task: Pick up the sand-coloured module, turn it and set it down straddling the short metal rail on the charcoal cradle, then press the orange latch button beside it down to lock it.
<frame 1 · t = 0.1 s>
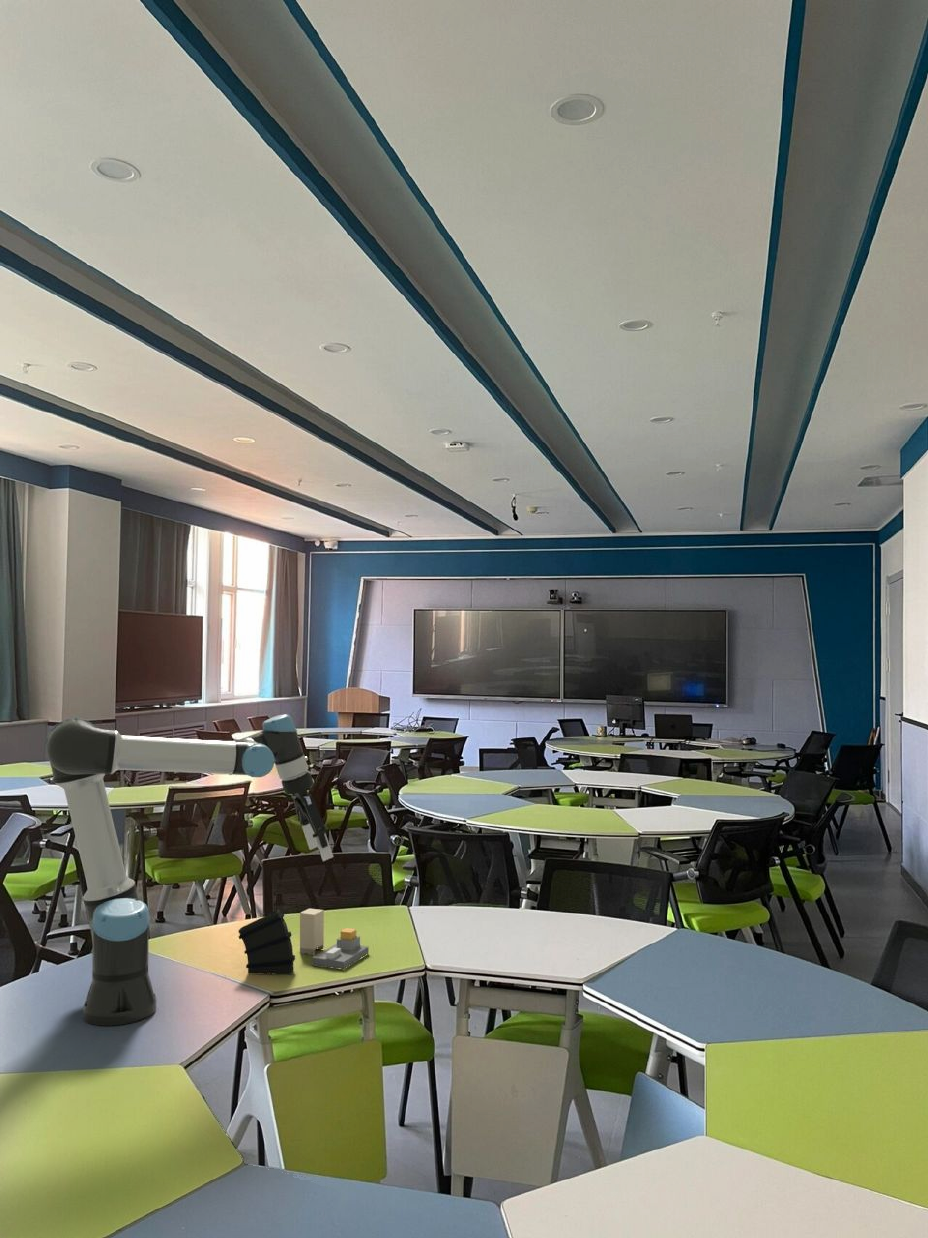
hand: (321, 853, 242), 28 cm above the table, tool tilted 20°, fingers open, 13 cm apart
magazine: (266, 973, 235), on the table
rail cradle: (341, 959, 244), on the table
module: (311, 951, 251), on the table
latch button: (348, 936, 248), point 5 cm above the table, slide at 0.0 cm
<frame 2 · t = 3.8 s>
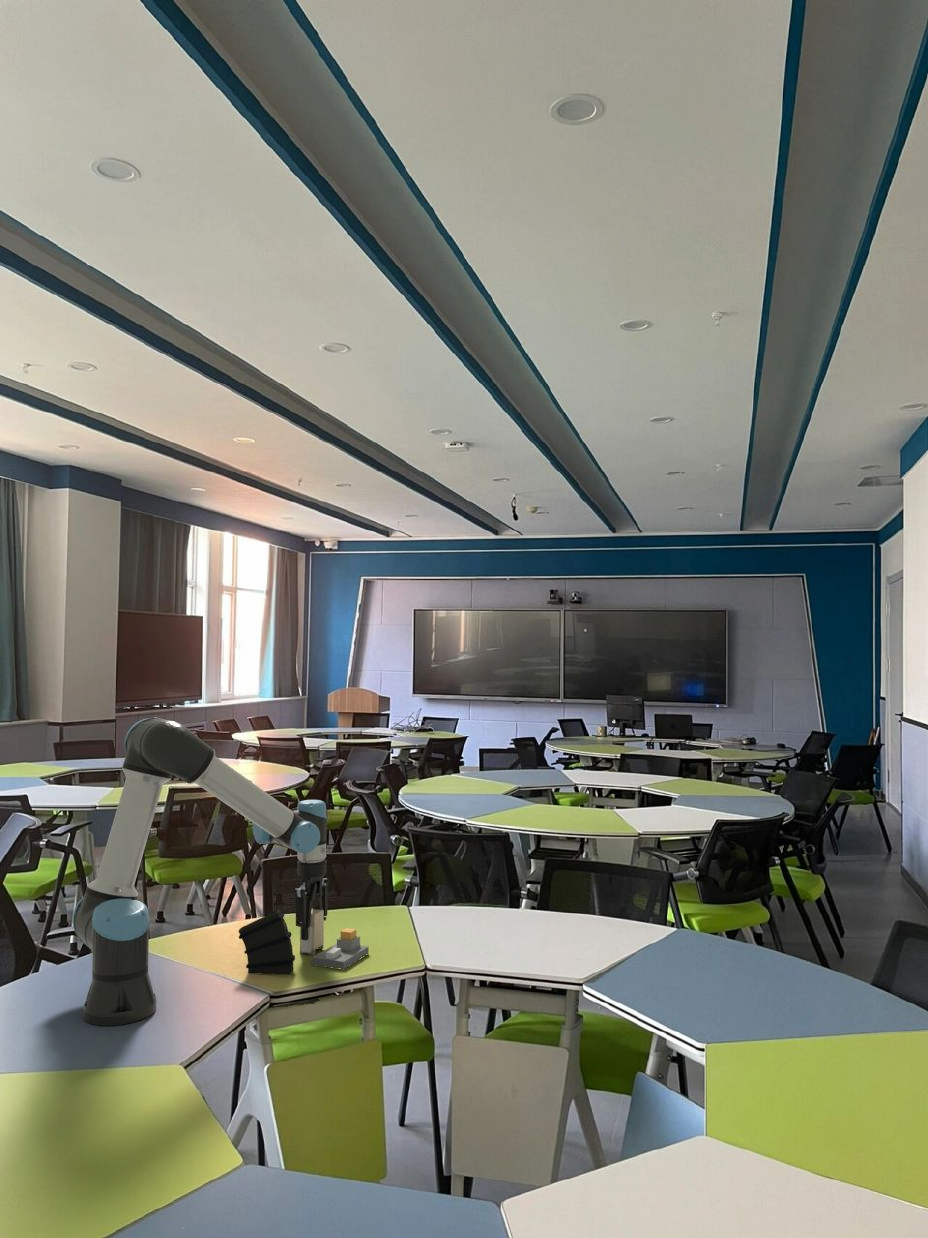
hand: (311, 948, 251), 1 cm above the table, tool pointing down, fingers closed on module, 5 cm apart
module: (311, 951, 251), on the table, touching gripper
everything else where it was.
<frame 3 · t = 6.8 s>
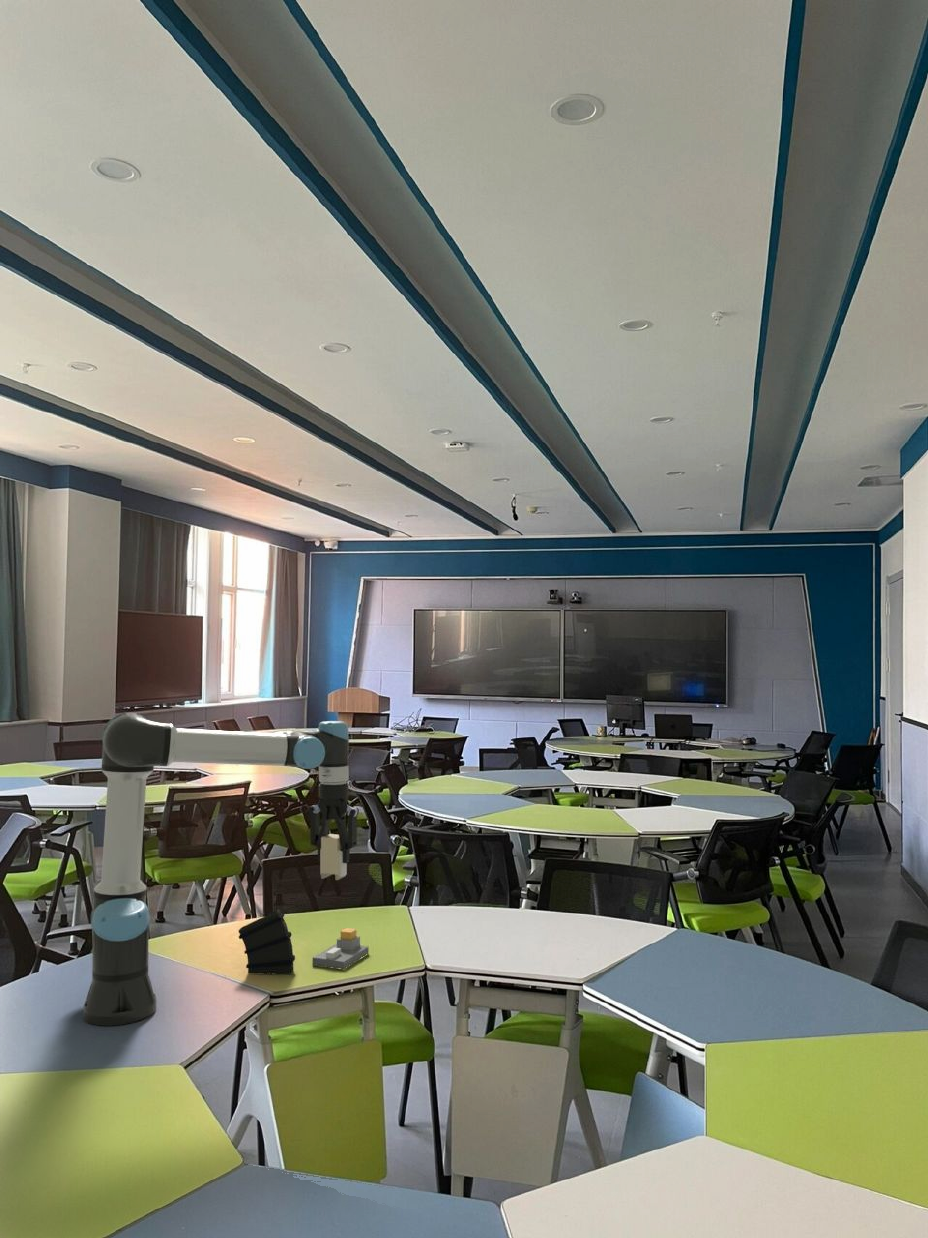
hand: (333, 874, 242), 22 cm above the table, tool pointing down, fingers closed on module, 5 cm apart
module: (333, 877, 241), point 22 cm above the table, touching gripper
everything else where it was.
when the fingers open (4 cm above the table, at t = 10.0 s): module stays where it is, resting on rail cradle.
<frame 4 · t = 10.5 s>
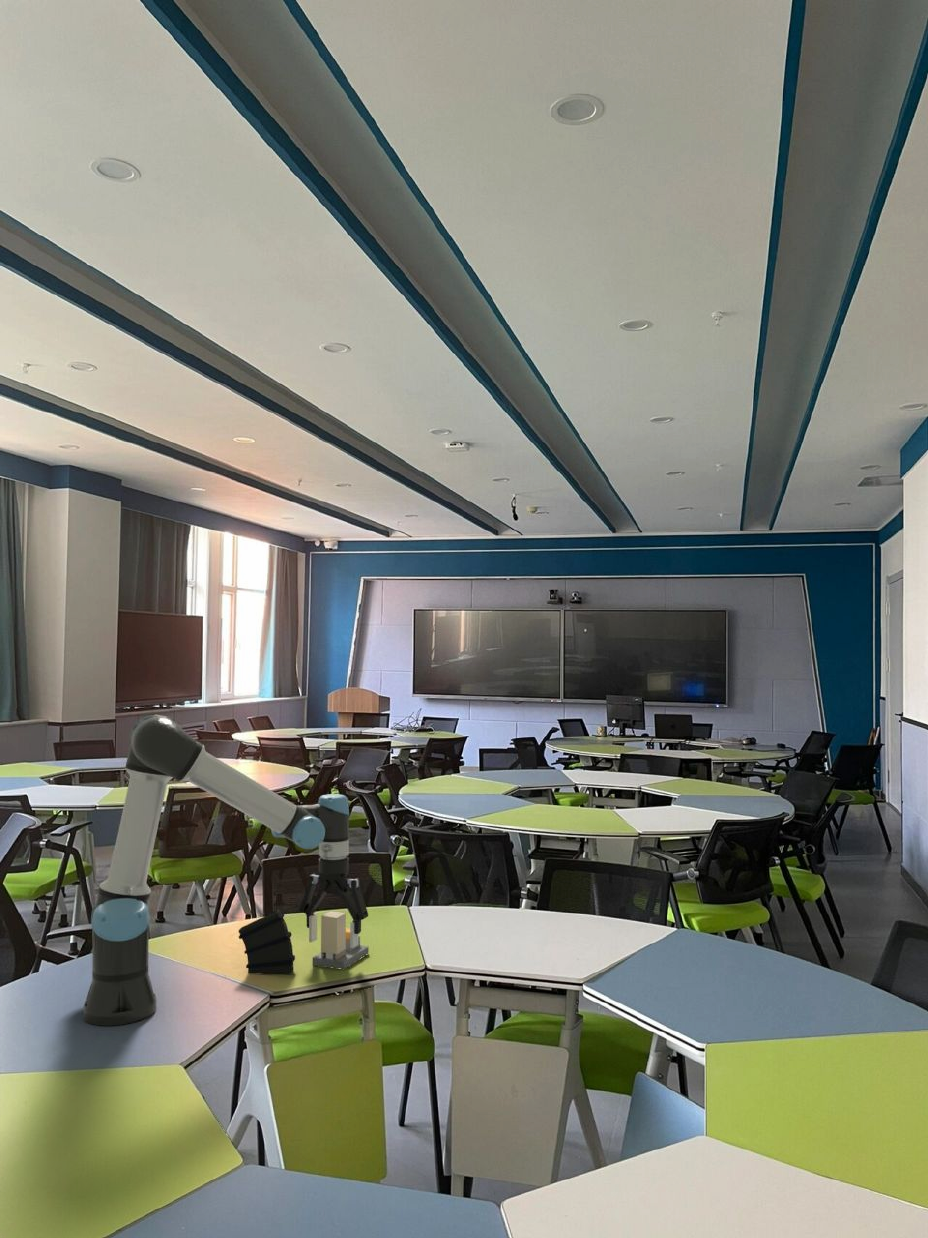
hand: (333, 943, 241), 5 cm above the table, tool pointing down, fingers open, 11 cm apart
module: (333, 956, 241), point 2 cm above the table, touching rail cradle
everything else where it was.
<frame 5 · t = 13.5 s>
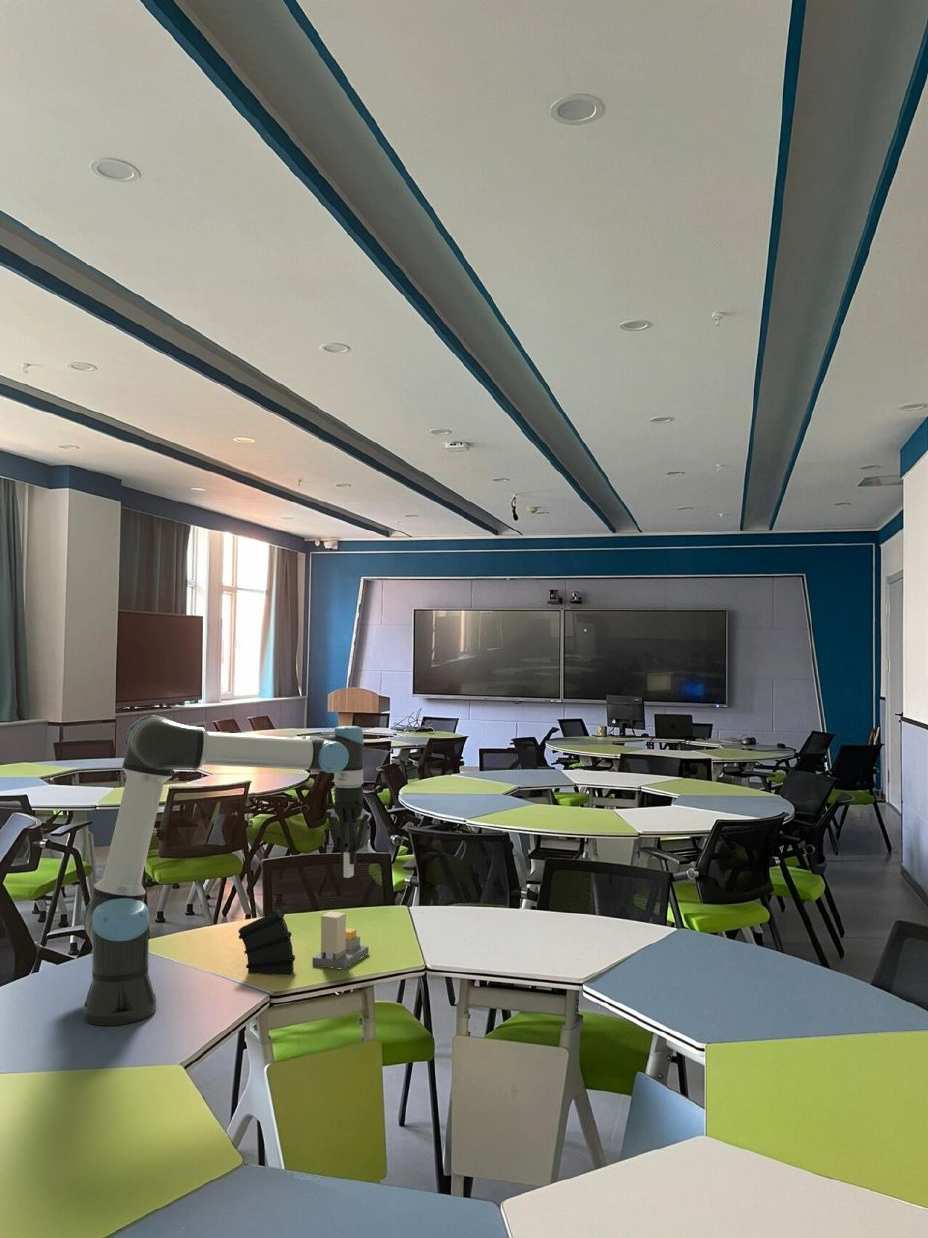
hand: (348, 876, 248), 20 cm above the table, tool pointing down, fingers closed
nothing on the table moved.
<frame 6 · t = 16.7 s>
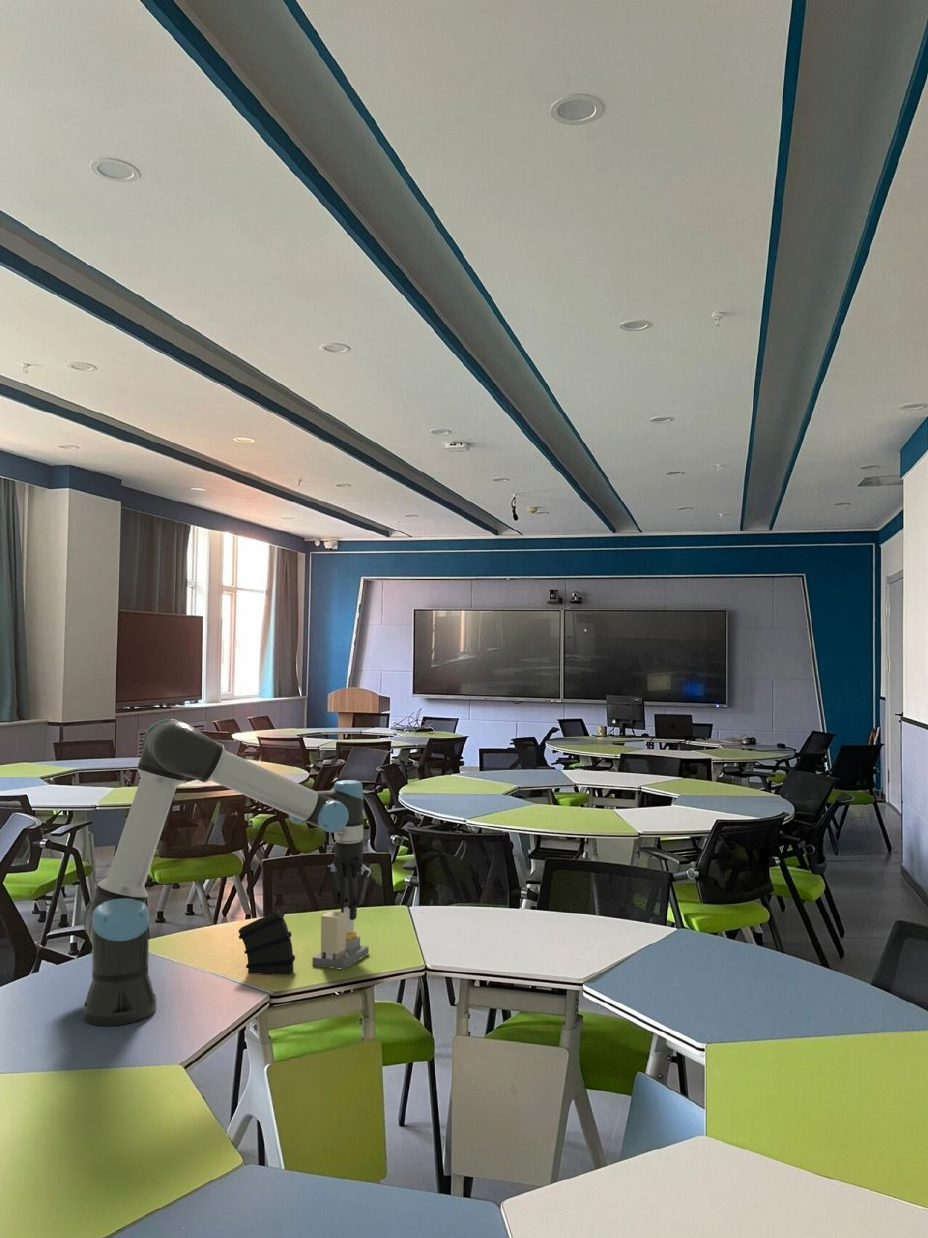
hand: (348, 931, 248), 6 cm above the table, tool pointing down, fingers closed
latch button: (348, 938, 248), point 4 cm above the table, slide at 0.6 cm, touching gripper
everything else where it was.
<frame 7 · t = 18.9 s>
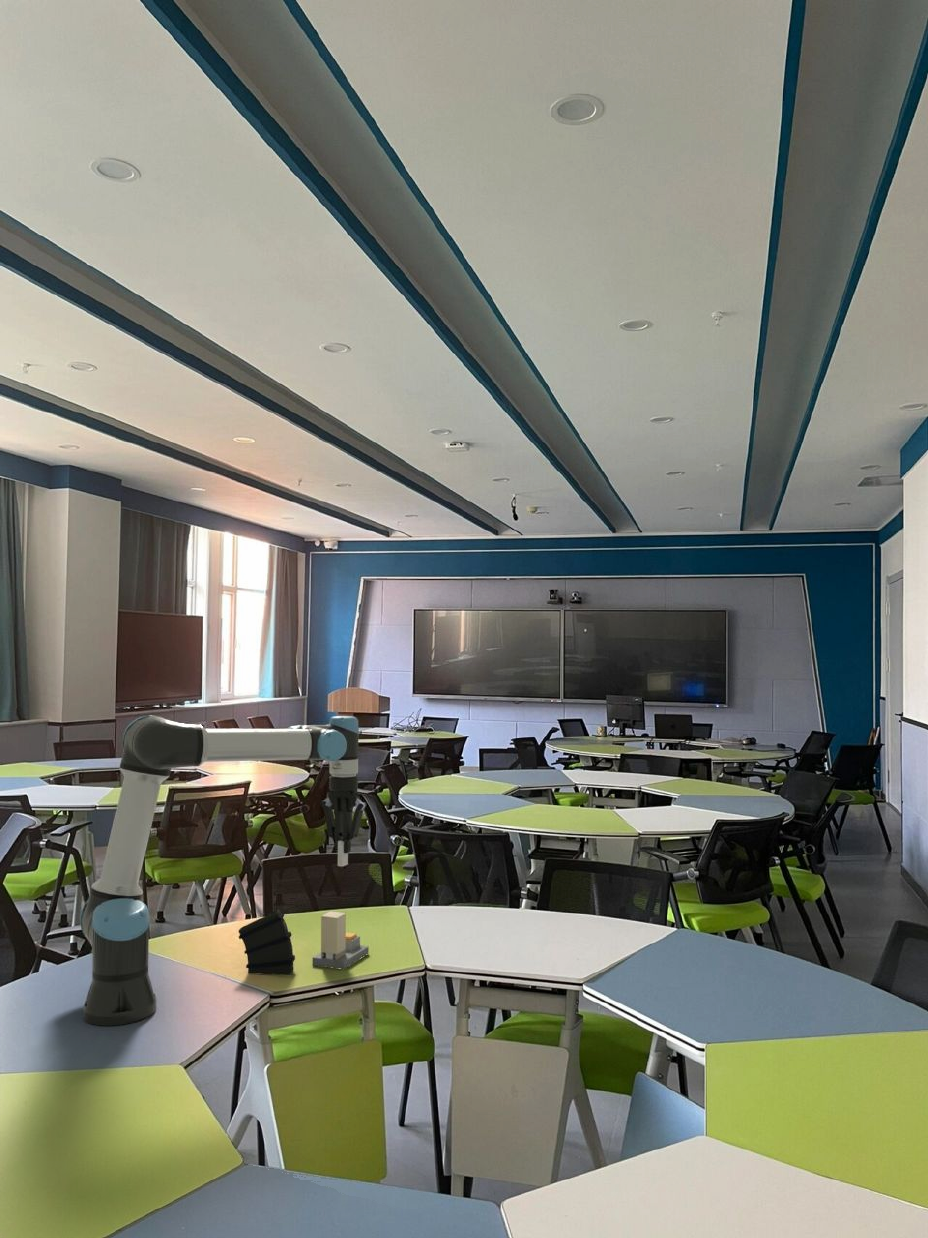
hand: (342, 865, 250), 23 cm above the table, tool pointing down, fingers closed
latch button: (348, 940, 248), point 4 cm above the table, slide at 1.1 cm
everything else where it was.
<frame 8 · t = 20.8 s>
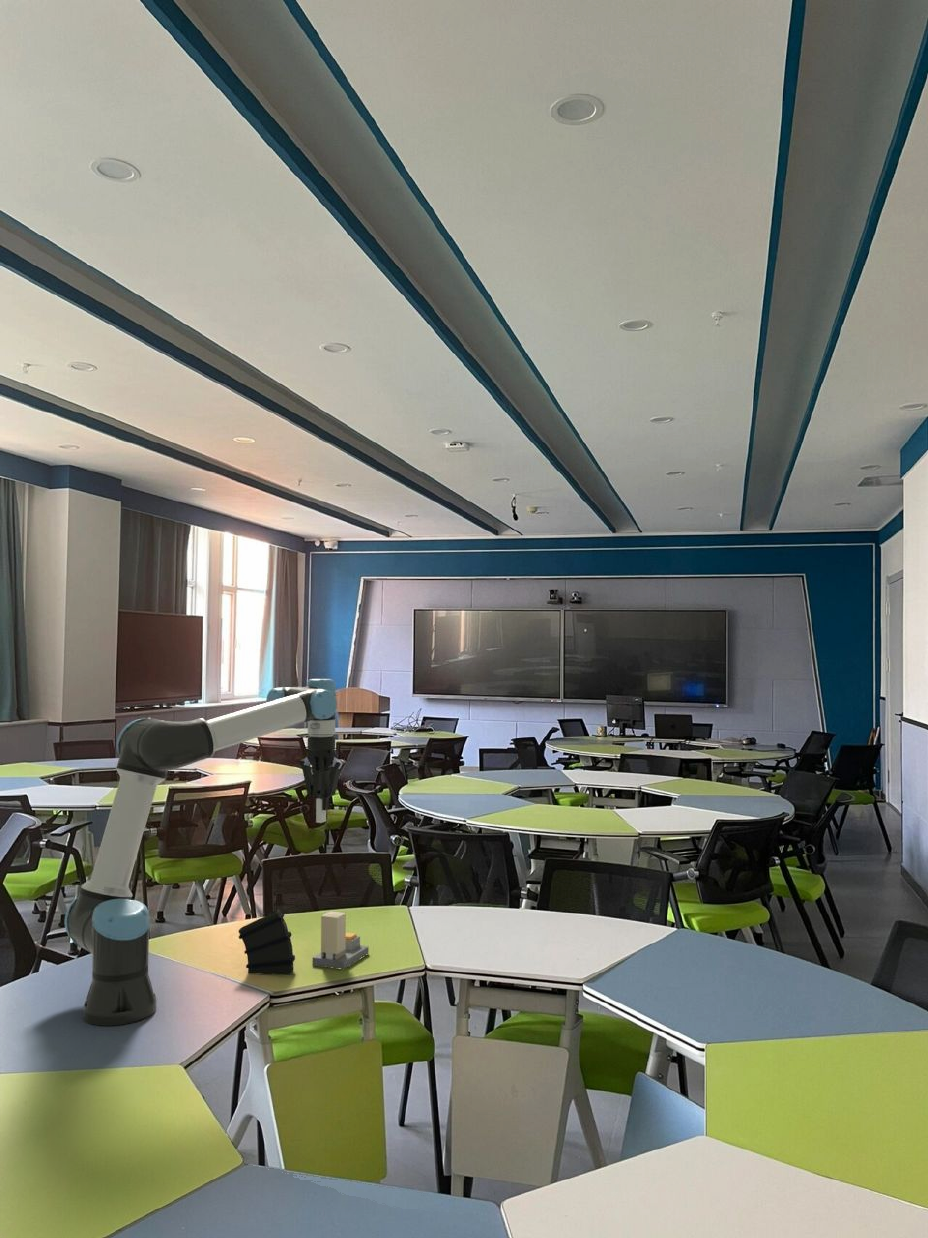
hand: (321, 821, 260), 32 cm above the table, tool pointing down, fingers closed
nothing on the table moved.
at the end: module 0.0 cm from the target spot on the rail cradle, point 2.1 cm above the rail cradle's base; module tilted 0°; latch button slide at 1.1 cm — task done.
